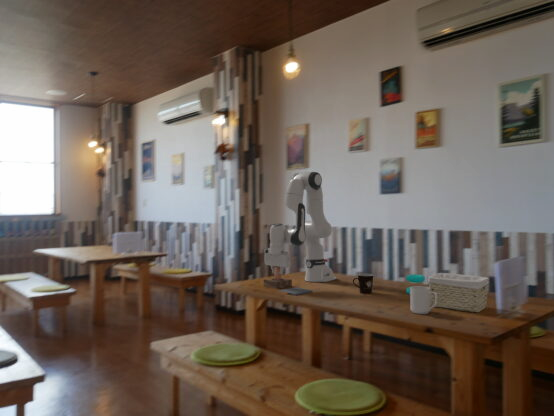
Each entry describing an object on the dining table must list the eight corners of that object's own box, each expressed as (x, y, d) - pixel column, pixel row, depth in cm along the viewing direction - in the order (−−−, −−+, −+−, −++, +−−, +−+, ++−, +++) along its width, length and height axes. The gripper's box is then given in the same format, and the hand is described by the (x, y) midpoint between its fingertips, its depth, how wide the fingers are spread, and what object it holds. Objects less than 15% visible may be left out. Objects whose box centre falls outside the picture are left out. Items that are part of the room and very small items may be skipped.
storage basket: (490, 307, 212) (490, 276, 212) (480, 314, 199) (479, 281, 199) (439, 301, 227) (439, 272, 227) (427, 307, 215) (426, 276, 215)
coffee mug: (372, 291, 256) (372, 273, 256) (374, 294, 247) (374, 276, 247) (352, 291, 257) (351, 273, 257) (353, 294, 248) (352, 276, 248)
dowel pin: (278, 285, 274) (277, 265, 274) (282, 286, 271) (282, 266, 271) (273, 286, 271) (272, 266, 271) (277, 287, 268) (277, 267, 268)
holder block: (278, 285, 279) (278, 277, 279) (291, 287, 270) (291, 279, 270) (263, 287, 271) (263, 279, 271) (277, 290, 262) (276, 282, 262)
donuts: (421, 277, 240) (403, 275, 246) (421, 296, 240) (403, 294, 246) (427, 274, 248) (409, 273, 254) (427, 292, 249) (409, 291, 254)
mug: (407, 312, 205) (406, 288, 204) (415, 308, 211) (414, 285, 211) (433, 316, 197) (432, 291, 197) (440, 312, 204) (440, 288, 203)
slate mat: (295, 288, 267) (295, 287, 267) (312, 292, 256) (312, 290, 256) (277, 292, 258) (277, 290, 258) (294, 295, 247) (294, 293, 247)
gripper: (292, 251, 265) (293, 274, 265) (270, 249, 280) (270, 271, 281) (285, 252, 261) (285, 276, 261) (262, 250, 276) (262, 272, 276)
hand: (277, 273), depth 271 cm, fingers open, 5 cm apart
